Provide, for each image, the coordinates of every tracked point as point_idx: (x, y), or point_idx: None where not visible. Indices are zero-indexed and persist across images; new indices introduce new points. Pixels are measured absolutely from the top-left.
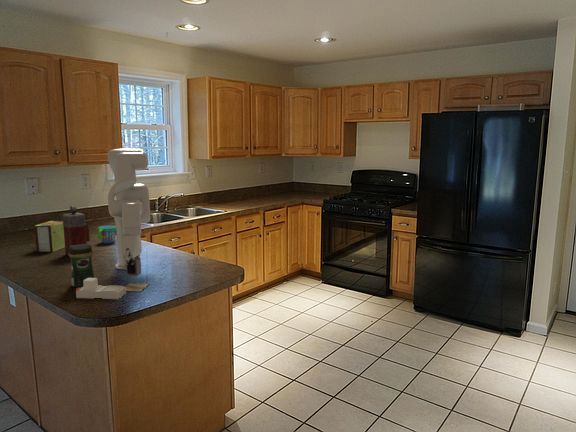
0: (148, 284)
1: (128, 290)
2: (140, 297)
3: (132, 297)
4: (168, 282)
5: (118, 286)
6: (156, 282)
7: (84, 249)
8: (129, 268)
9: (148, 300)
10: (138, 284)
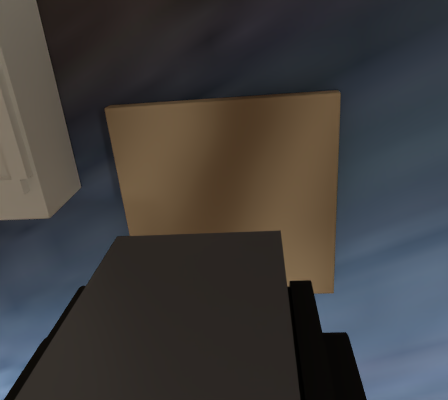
0: (331, 292)
1: (122, 193)
2: (41, 325)
3: (18, 273)
4: (426, 397)
5: (5, 147)
6: (429, 315)
7: None
8: None
9: (12, 386)
10: (318, 208)
